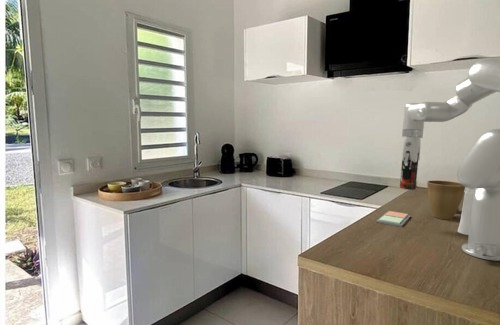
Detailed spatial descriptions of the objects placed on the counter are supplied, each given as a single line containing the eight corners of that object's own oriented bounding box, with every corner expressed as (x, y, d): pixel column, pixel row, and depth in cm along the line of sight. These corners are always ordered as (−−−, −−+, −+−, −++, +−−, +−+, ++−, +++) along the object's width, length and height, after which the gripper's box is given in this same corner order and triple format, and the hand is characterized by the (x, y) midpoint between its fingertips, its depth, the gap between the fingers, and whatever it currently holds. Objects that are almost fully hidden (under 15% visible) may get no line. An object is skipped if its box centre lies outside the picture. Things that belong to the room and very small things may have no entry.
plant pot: (467, 223, 139) (470, 187, 137) (427, 220, 144) (430, 184, 142) (457, 214, 153) (460, 181, 151) (422, 211, 158) (424, 179, 156)
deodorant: (396, 186, 137) (399, 151, 135) (407, 186, 139) (410, 151, 137) (407, 190, 131) (410, 153, 129) (418, 189, 133) (422, 152, 131)
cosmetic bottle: (478, 233, 127) (483, 177, 124) (473, 236, 123) (478, 179, 120) (460, 229, 131) (465, 175, 129) (455, 232, 127) (460, 177, 125)
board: (401, 226, 134) (401, 223, 134) (376, 222, 140) (376, 219, 139) (410, 217, 148) (410, 214, 148) (387, 213, 154) (387, 210, 154)
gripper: (418, 135, 123) (413, 182, 125) (426, 133, 136) (422, 175, 139) (397, 134, 127) (393, 179, 130) (407, 132, 141) (403, 173, 143)
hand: (408, 177), depth 134 cm, fingers closed on deodorant, 5 cm apart
